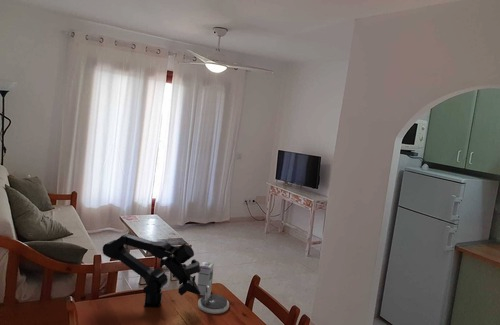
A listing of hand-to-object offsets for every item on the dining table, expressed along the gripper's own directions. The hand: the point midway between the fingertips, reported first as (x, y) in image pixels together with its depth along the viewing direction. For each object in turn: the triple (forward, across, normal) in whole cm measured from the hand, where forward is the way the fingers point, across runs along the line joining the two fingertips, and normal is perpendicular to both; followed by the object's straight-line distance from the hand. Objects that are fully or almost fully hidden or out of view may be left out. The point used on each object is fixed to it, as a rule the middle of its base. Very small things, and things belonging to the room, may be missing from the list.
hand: (199, 294), depth 165 cm
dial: (+9, +4, -1) cm, 10 cm away
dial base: (+10, +4, 0) cm, 11 cm away
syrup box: (+6, +16, +4) cm, 18 cm away
